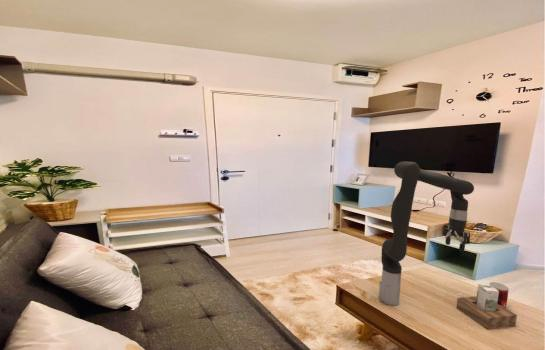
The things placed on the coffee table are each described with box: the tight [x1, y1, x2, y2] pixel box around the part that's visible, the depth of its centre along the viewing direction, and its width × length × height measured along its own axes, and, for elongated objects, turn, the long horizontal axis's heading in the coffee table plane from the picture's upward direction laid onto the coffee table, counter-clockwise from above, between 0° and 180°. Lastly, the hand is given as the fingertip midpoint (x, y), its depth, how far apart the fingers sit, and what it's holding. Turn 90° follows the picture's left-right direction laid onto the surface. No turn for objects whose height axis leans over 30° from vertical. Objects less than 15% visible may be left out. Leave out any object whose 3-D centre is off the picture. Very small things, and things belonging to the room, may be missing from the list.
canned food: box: [488, 281, 509, 309], centre depth 136 cm, size 8×8×11 cm
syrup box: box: [476, 284, 499, 312], centre depth 126 cm, size 6×6×14 cm
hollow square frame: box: [456, 295, 518, 330], centre depth 126 cm, size 16×16×6 cm
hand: (454, 247), depth 137 cm, fingers open, 8 cm apart
